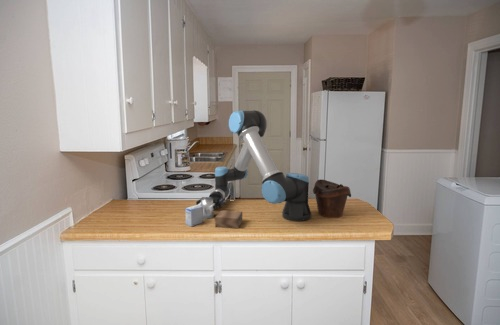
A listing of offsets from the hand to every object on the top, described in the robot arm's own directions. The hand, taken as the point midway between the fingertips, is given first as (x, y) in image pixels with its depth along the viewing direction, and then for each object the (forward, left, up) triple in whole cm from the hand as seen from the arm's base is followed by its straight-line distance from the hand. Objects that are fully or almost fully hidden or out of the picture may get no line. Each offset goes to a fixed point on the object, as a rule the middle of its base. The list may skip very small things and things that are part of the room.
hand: (203, 208), depth 176 cm
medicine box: (+3, +6, -6) cm, 9 cm away
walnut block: (-14, +3, -6) cm, 16 cm away
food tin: (0, -5, -6) cm, 8 cm away
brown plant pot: (-64, -23, -6) cm, 68 cm away
